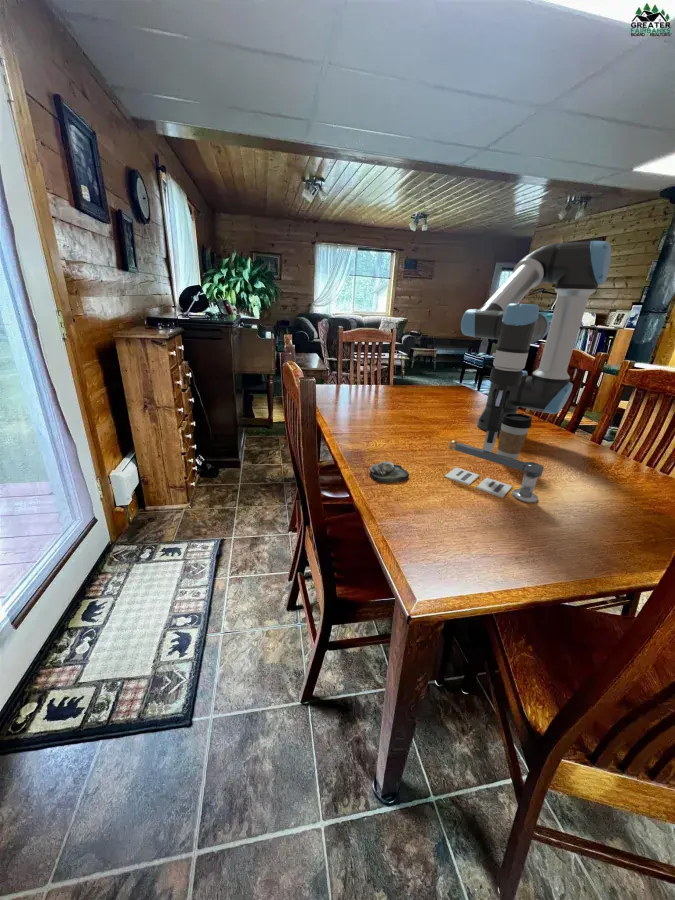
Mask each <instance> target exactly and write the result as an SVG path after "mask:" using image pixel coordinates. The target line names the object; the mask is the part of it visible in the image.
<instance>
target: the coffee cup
mask: <svg viewBox="0 0 675 900" xmlns="http://www.w3.org/2000/svg"><path fill="white" fill-rule="evenodd" d="M532 421H533V417H532V416H531V415H528V414H525V413H524V414H523V413H517V414H514V413H509V414H504V415H503V418H502V419H501V423H502V426H501V431H500V434H498V435H499V437H498V443H497V451H496V454H499V455H502V456H506V457H509V458H513V459H516V460H518V458H519V456H520V453H521V451H522V448H523V446H524V443H525V441H526V438H527V436H528V431H529V429H530V428H531V426H532Z"/></svg>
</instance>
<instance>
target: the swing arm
mask: <svg viewBox="0 0 675 900" xmlns="http://www.w3.org/2000/svg"><path fill="white" fill-rule="evenodd" d="M448 448H449V449H450V450H451V451H456V452H460V453H462V454H466V455H469V456H473V457H476V458H478V459H482V460H484V461H485V460H486V461H489V462H492V463H495V464H497V465H498V464H499V465H502V466H505V467H508V468H511V469H515V470H518V471H521V472H522V473H523V474H526V475H529V476H533V477H538V478H539V477H542V475H543V472H544V469H545V467H544V466H543V465H541V464H540V463H537V462H534V461H523V460H519V459H517V460H516V459H513V458H509V457H506V456H502V455H499V454H497V452H496V453H495V452H493V453H492V452H489V451H485V450H483V448H479V447H475V446H472V445H468V444H464V443H461V442H459V441H457V440H451V441H449V442H448Z"/></svg>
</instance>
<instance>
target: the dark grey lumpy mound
mask: <svg viewBox="0 0 675 900" xmlns="http://www.w3.org/2000/svg"><path fill="white" fill-rule="evenodd" d="M369 469H370V470H369V476H370V477H371V478H372V479H373V480H374V481H376V482H377V483H381V484H383V483H384V484H385V483H398V482H399V483H400V482H403V481H406V480H407V479H409V476H410V474H409V472H408V471H407V470H406V469H404V468H403V467H402V466H401V465H399V464H393V462H392V461H380V462H379V463H378V464H377V463H375V464H372V465H371V466H370V468H369Z"/></svg>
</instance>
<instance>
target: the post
mask: <svg viewBox="0 0 675 900" xmlns="http://www.w3.org/2000/svg"><path fill="white" fill-rule="evenodd" d="M523 474H524V475H523V478H522V481H521V485H520V488H517V489H516V488H515V489H513V490H512V493H511V496H513V498H514V499H516V500H518V501H521V502H523V503H527V504H535V503H537V502H538V500H539V497H538V495H537V494H536V493H534V490H535V487H536V483H537V481H538V478H539V477H533V476H529V475H526V474H525V473H523Z"/></svg>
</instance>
